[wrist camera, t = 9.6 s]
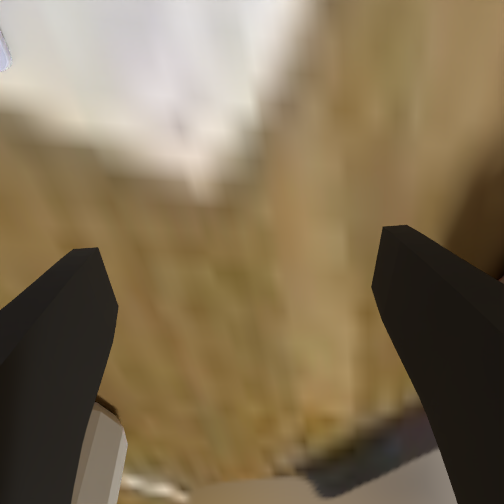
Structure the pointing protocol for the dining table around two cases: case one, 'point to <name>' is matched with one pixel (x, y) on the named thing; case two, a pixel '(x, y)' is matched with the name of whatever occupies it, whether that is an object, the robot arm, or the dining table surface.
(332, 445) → the dining table surface
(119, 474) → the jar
